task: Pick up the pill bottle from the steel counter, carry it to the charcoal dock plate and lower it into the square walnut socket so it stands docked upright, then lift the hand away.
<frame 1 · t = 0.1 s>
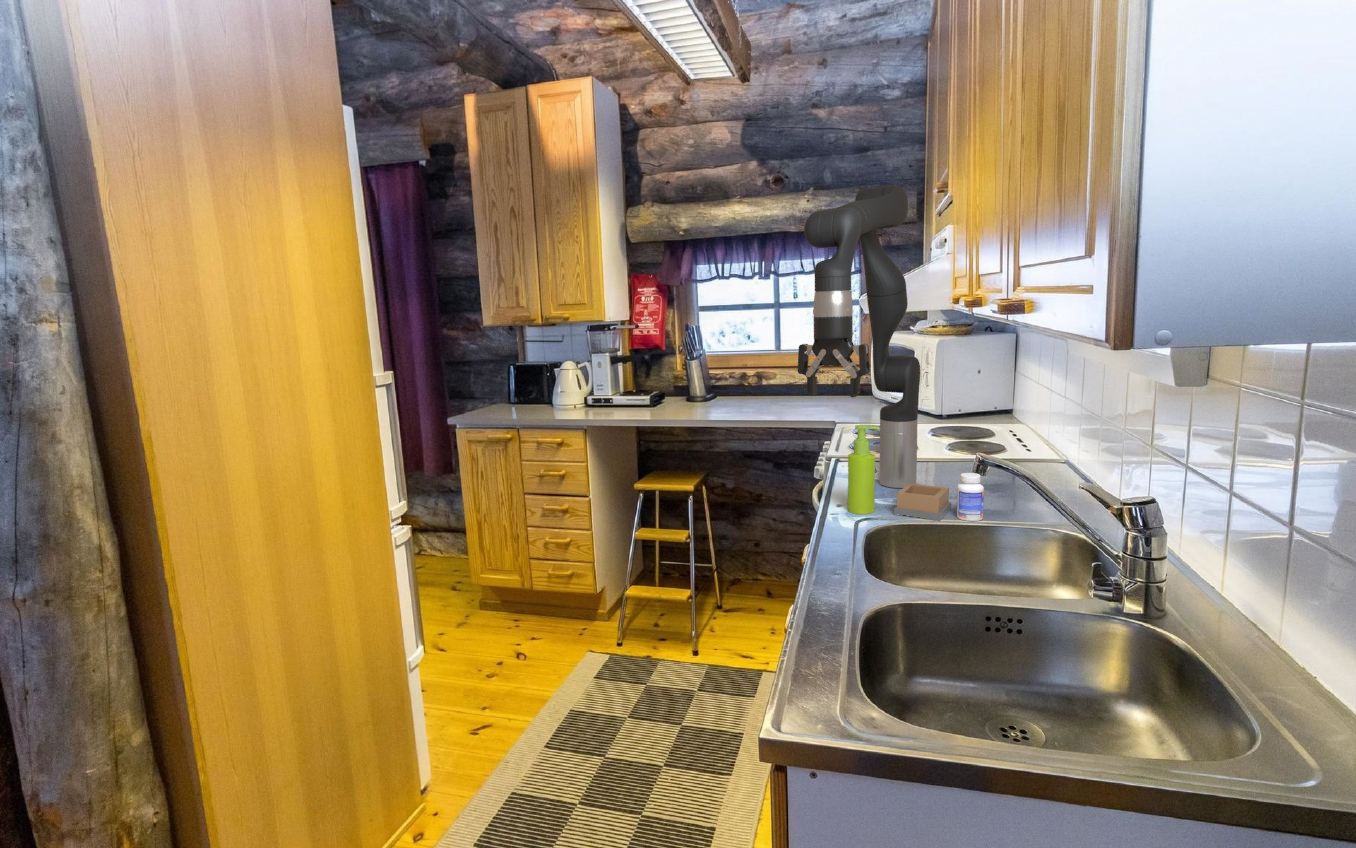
hand: (833, 396, 140), 29 cm above the table, tool pointing down, fingers open, 8 cm apart
soap dispenser: (863, 511, 161), on the table
pill bottle: (969, 518, 152), on the table
dock: (922, 511, 158), on the table
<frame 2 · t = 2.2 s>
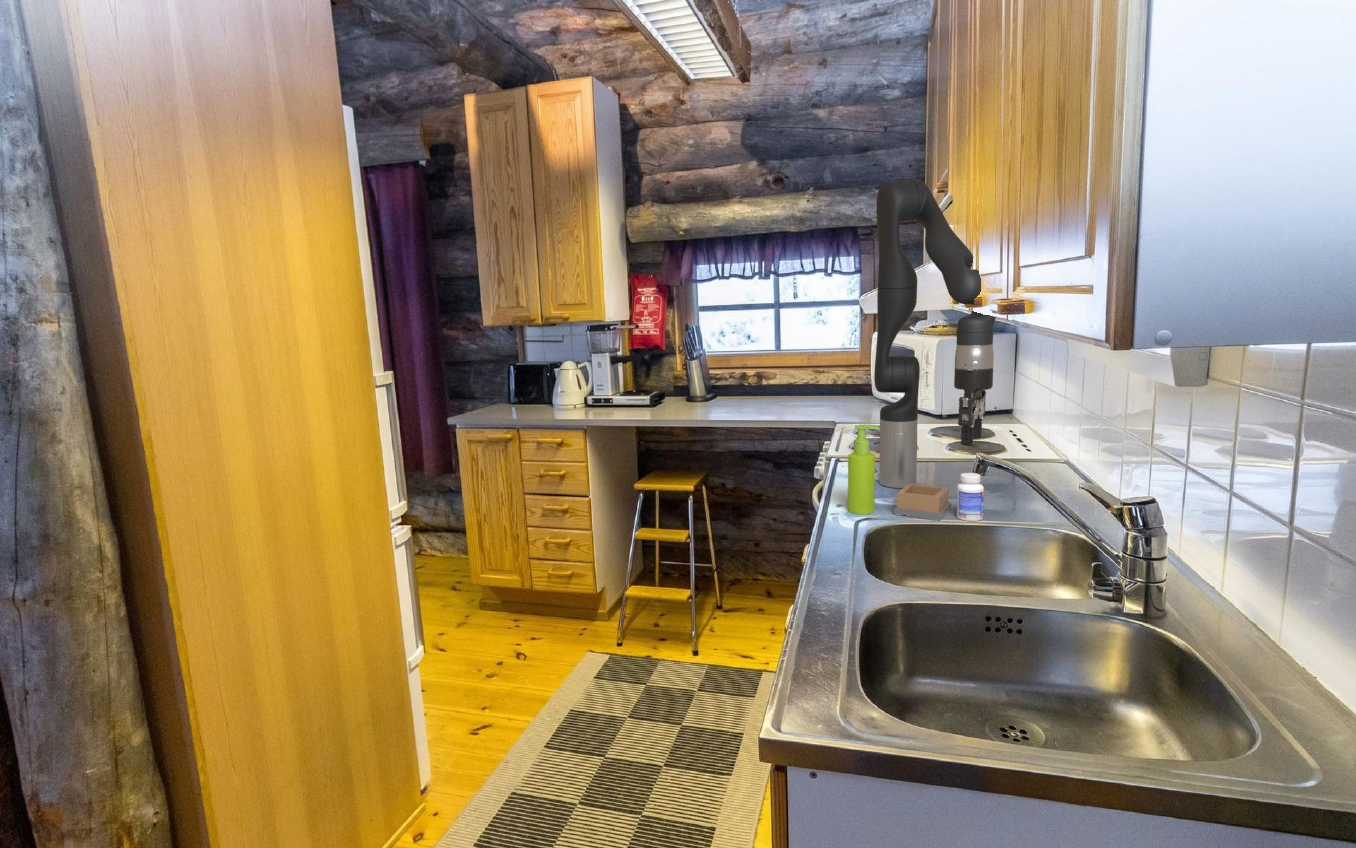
hand: (971, 441, 149), 17 cm above the table, tool pointing down, fingers open, 8 cm apart
nothing on the table moved.
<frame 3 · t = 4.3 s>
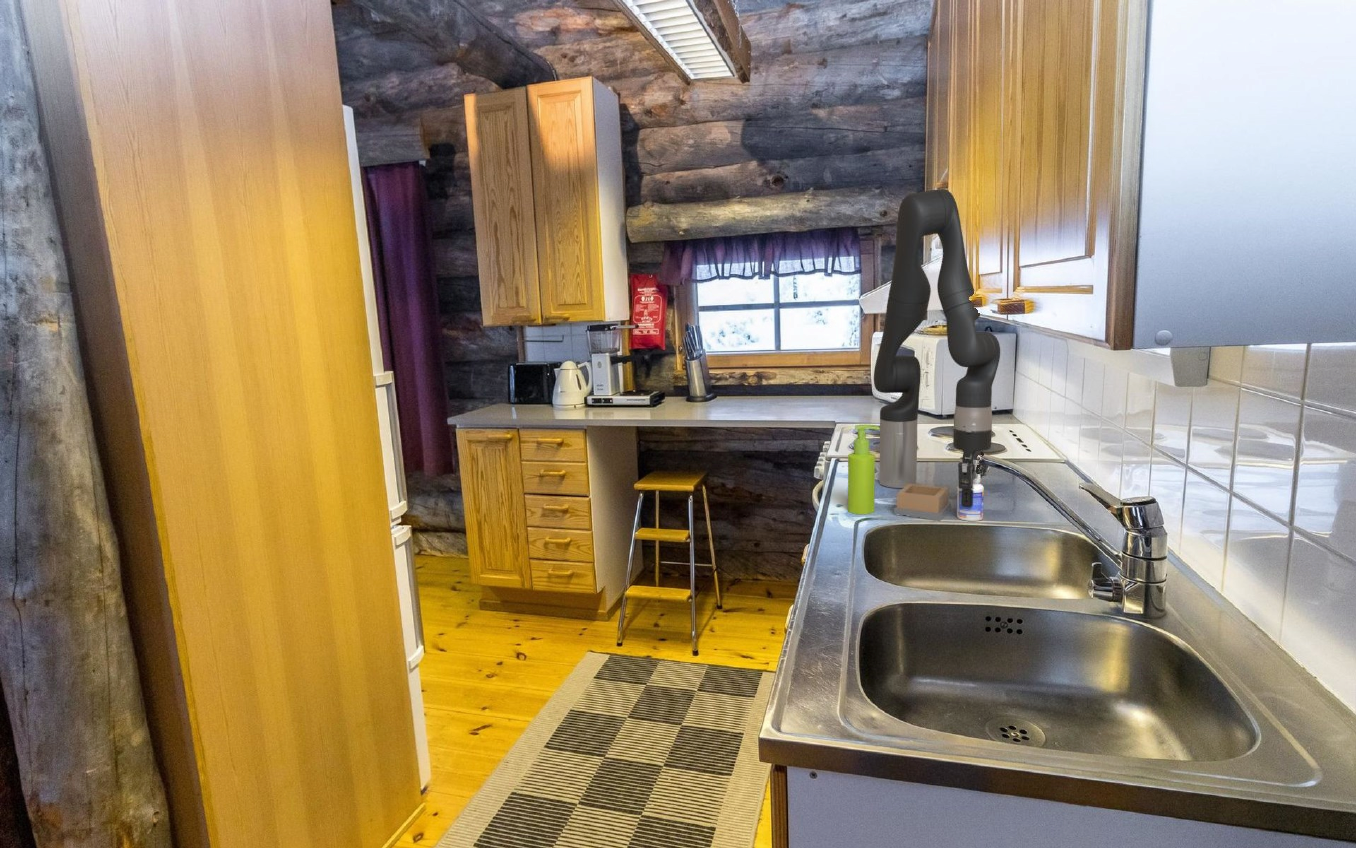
hand: (970, 502, 152), 3 cm above the table, tool pointing down, fingers closed on pill bottle, 5 cm apart
pill bottle: (969, 518, 152), on the table, touching gripper
everything else where it was.
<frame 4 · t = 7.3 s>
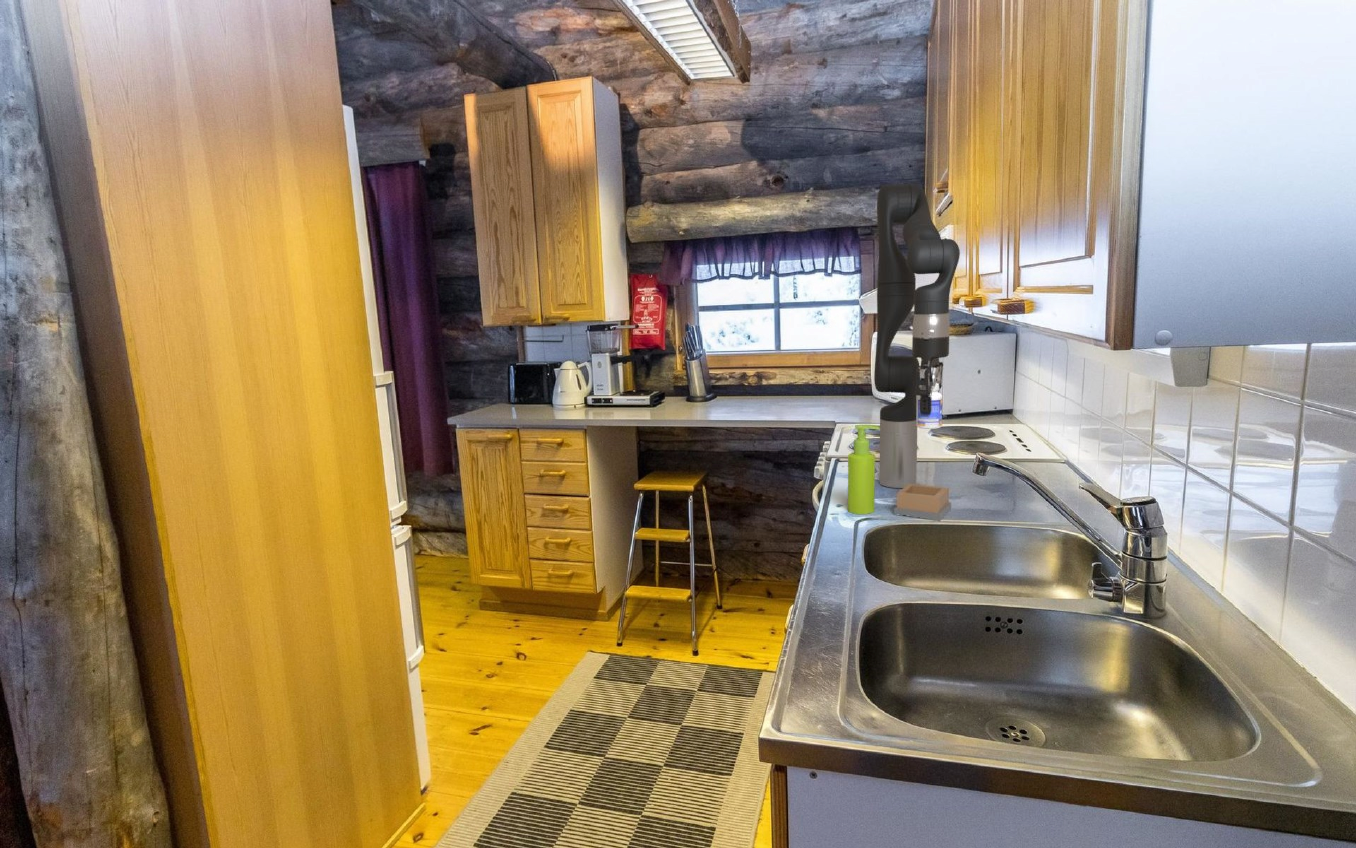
hand: (929, 411, 154), 23 cm above the table, tool pointing down, fingers closed on pill bottle, 5 cm apart
pill bottle: (928, 427, 155), point 19 cm above the table, touching gripper
everything else where it was.
when the fingers open (6 cm above the table, at t = 10.3 s): pill bottle drops 1 cm, resting on dock.
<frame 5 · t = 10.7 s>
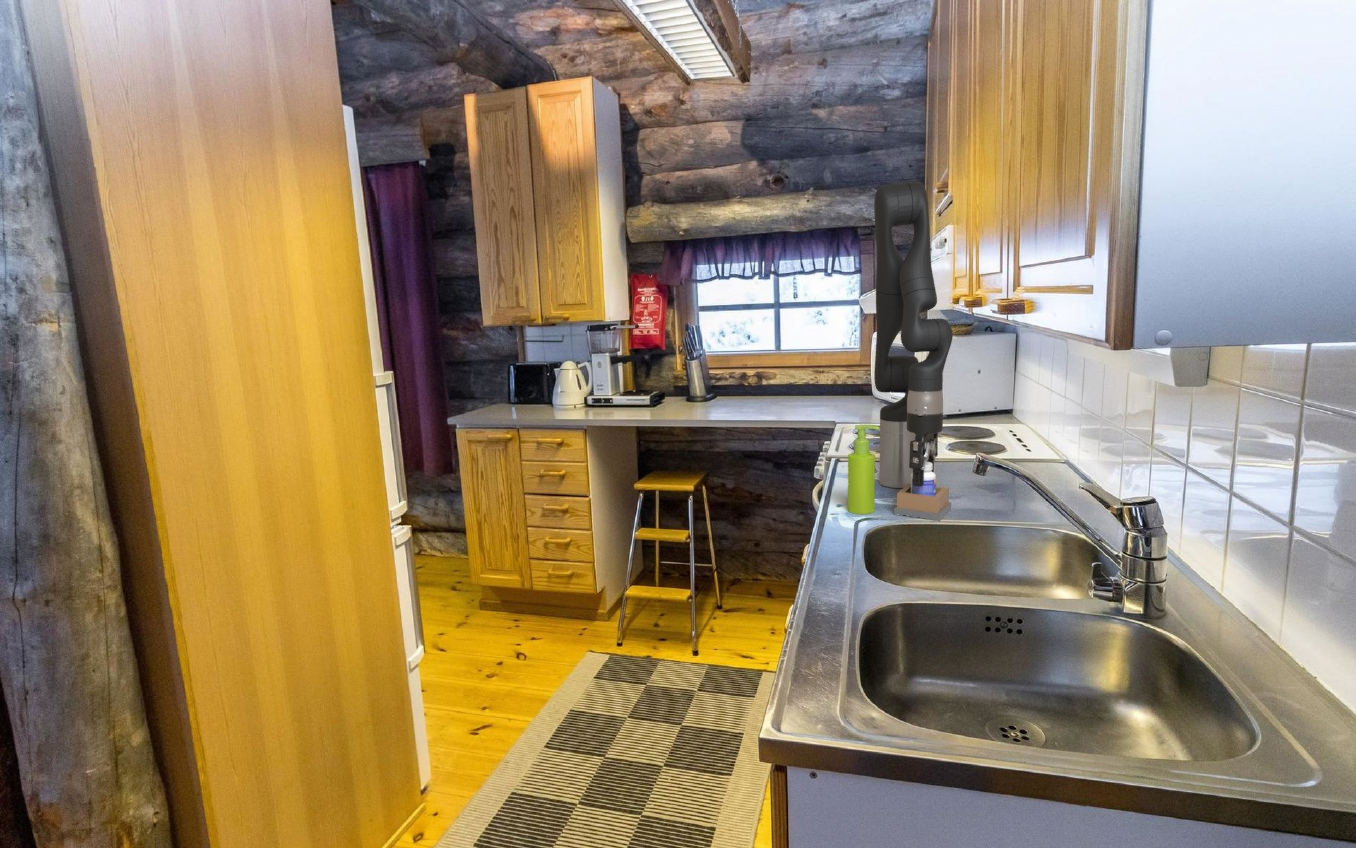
hand: (923, 481, 157), 7 cm above the table, tool pointing down, fingers open, 8 cm apart
pill bottle: (922, 505, 158), point 1 cm above the table, touching dock
everything else where it was.
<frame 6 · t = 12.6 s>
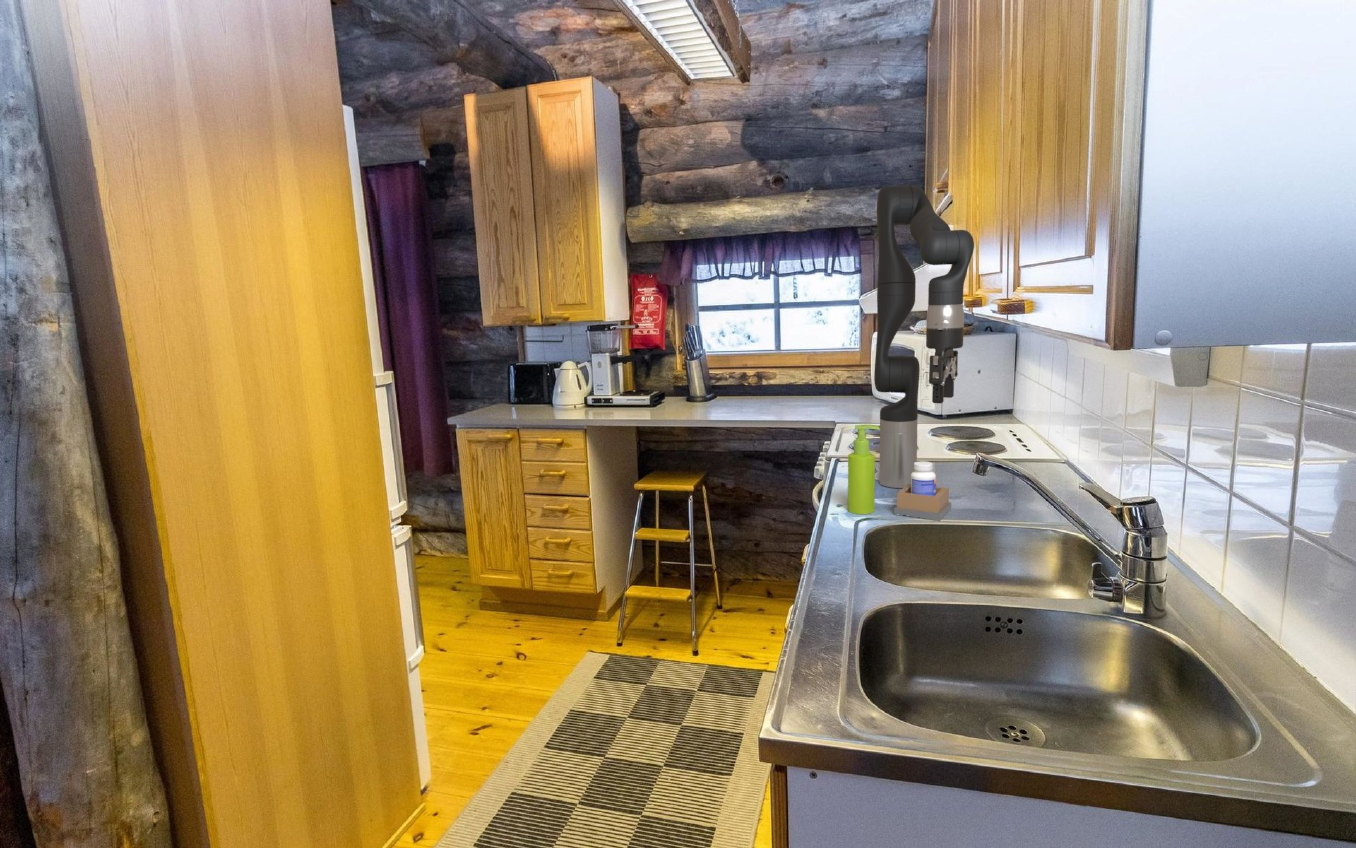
hand: (943, 400, 153), 25 cm above the table, tool pointing down, fingers open, 8 cm apart
nothing on the table moved.
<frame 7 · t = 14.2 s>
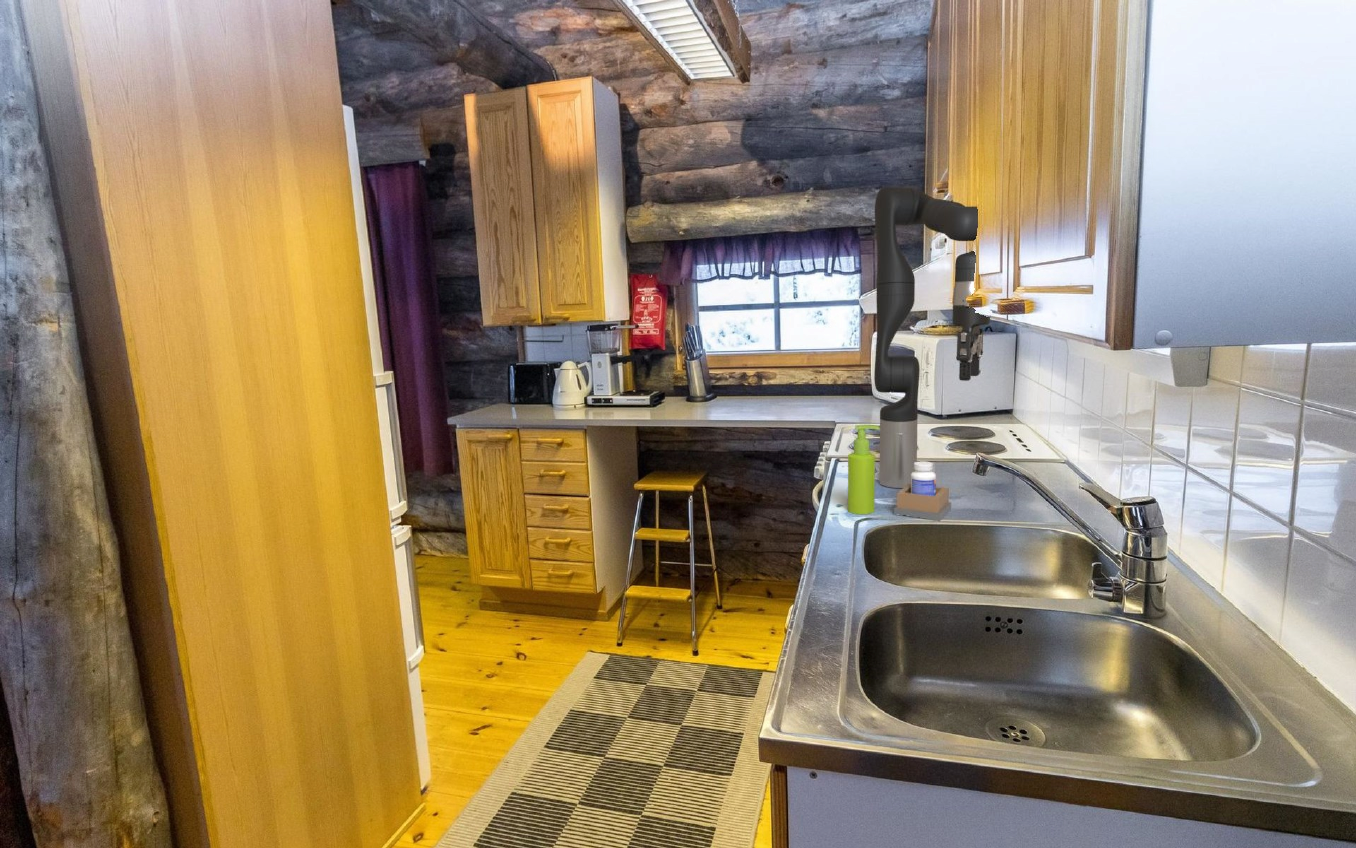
hand: (969, 378, 152), 30 cm above the table, tool pointing down, fingers open, 8 cm apart
nothing on the table moved.
at the end: pill bottle 0.3 cm off-centre on the dock, point 1.3 cm above the dock's base; pill bottle tilted 0°; the gripper is holding nothing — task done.
